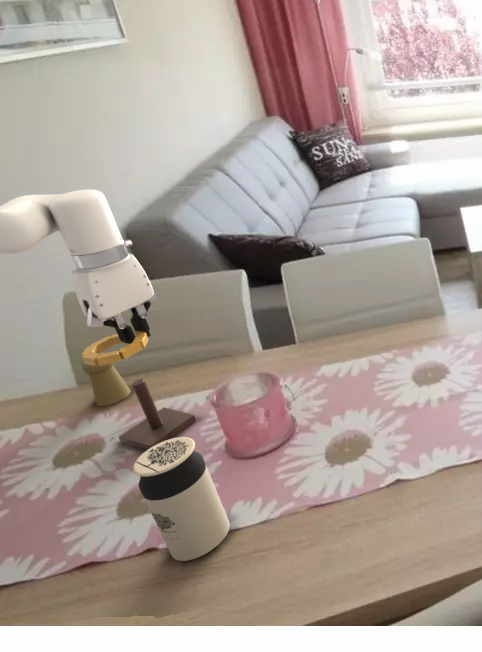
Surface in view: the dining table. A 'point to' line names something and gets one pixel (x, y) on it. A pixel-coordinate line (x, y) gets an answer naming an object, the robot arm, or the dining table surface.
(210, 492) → the travel mug
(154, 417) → the peg stand
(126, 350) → the brass ring
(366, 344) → the dining table surface
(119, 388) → the cork
